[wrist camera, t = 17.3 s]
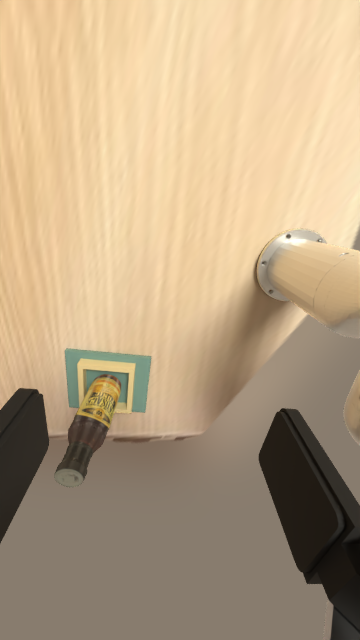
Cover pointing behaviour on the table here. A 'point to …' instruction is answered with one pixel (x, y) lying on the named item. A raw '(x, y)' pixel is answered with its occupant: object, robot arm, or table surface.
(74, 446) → the sauce bottle
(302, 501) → the robot arm
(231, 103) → the table surface
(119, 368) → the teal board with frame
